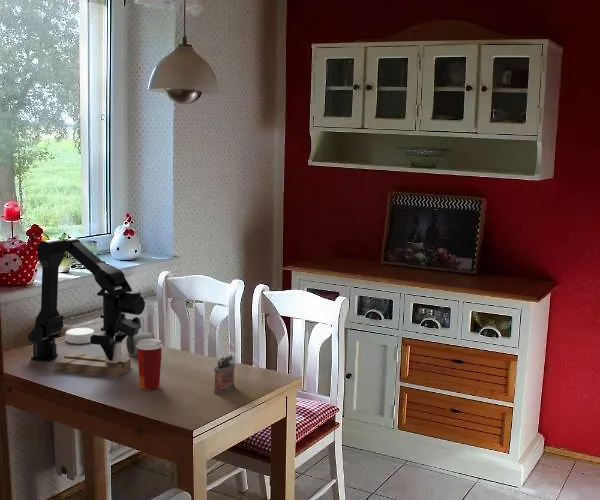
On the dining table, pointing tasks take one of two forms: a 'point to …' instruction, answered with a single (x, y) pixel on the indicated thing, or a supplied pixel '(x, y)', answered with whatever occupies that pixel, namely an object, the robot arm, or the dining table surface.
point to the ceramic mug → (134, 340)
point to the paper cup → (149, 363)
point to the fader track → (91, 365)
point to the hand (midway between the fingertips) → (113, 359)
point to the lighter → (224, 375)
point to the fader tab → (115, 354)
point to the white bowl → (79, 335)
